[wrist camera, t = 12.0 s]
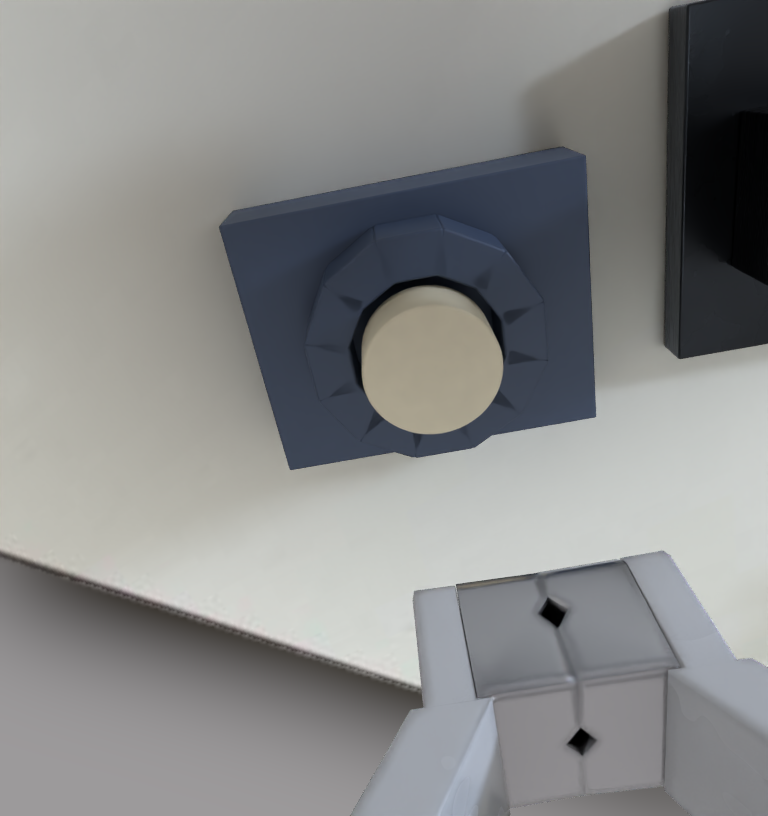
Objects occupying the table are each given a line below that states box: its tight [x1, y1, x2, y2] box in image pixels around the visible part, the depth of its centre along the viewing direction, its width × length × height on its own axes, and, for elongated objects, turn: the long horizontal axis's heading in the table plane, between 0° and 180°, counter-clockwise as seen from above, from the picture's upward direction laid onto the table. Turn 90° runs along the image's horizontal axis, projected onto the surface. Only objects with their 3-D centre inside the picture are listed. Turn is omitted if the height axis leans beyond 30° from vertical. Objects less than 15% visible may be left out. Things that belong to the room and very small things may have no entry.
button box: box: [219, 147, 596, 470], centre depth 20 cm, size 8×10×4 cm
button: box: [362, 285, 503, 434], centre depth 18 cm, size 4×4×2 cm
